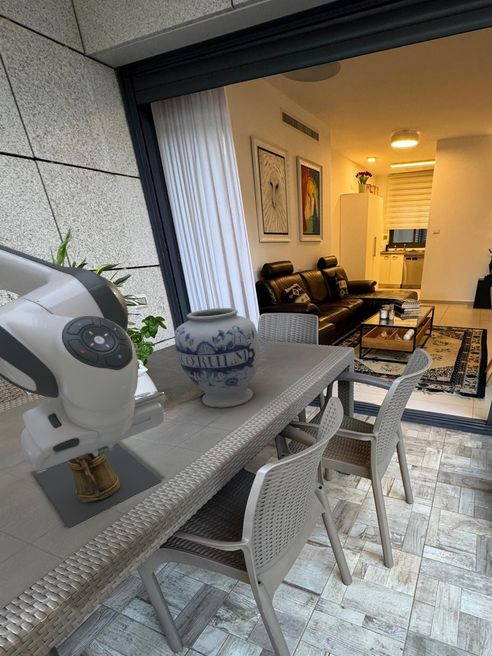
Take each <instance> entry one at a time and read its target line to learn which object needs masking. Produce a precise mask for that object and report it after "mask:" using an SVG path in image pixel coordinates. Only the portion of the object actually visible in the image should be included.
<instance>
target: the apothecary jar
mask: <svg viewBox="0 0 492 656" xmlns="http://www.w3.org/2000/svg"><path fill="white" fill-rule="evenodd" d="M186 317H187V318H188V321H186V322H183V323H182V324H180V325H179V326H178V327H177V328H176V329H175V330H174V345H175V351H176V354H177V358H178V361H179V364H180V366H181V368H182V371H183V372H184V373H185V374H186V376H187V377H188V378H189V379H190V381H191V382H192V383H194V385H195V386H196V387H198V388H199V389H200V390H202V391H203V392H204V393H205V394H203V396H202V399H201V401H202V403H203V404H204V405H205V406H206V407H209V408H217V409H219V408H221V409H222V408H231V407H237V406H240V405H241V406H242V405H243V404H246V403H247V402H249V401H250V400H251V399H252V398H253V395H254V392H253V390H252V389H251V388H248V387H249V385H250V383H251V382H252V380H253V379H254V377H255V375H256V373H257V371H258V368H259V364H260V357H261V355H260V354H261V353H260V351H261V349H260V348H261V347H260V340H259V335H258V331H257V328H256V325H255V323H254V322H253V321H252V320H251V319H249V318H247V317H245V316H241V315H238V309H236V308H232V307H213V308H207V309H202V310H201V309H200V310H195V311H192V312H189V313H188V314H187V315H186Z"/></svg>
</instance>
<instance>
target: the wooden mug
mask: <svg viewBox="0 0 492 656" xmlns="http://www.w3.org/2000/svg"><path fill="white" fill-rule="evenodd" d="M68 463H69V467H70V468H71V470H72V473H73V477H74V481H75V485H76V494H77V497H78V499H79V500H80V501H81V502H85V503H86V502H96V501H99V500H103V499H105V498H107V497H109V496H111V495H113V494H114V493H115V492H117V491H118V489H119V488H120V486H121V484H120V481H119V479H118V477H117V476H116V475H115V473H114V472H113V470H112V469H111V467H110V465H109V464H108V462H107V460H106V456H105V454H104V453H103V454H101V455H99V456H96V457H94V455H93V453H87V454H84V455H81V456H79V457H76V458H73V459H71V460H68Z"/></svg>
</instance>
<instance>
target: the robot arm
mask: <svg viewBox="0 0 492 656" xmlns="http://www.w3.org/2000/svg"><path fill="white" fill-rule="evenodd" d="M0 291H5V292H9V293H12V294H15V295H18V296H20V297H18V298H15V299H13V300H10V301H8V302H6V303H5V304H3V305H1V306H0V378H2V379H3V380H5V381H6V382H8V383H9V384H10V385H12V386H14V387H15V388H18V389H20V390H22V391H24V392H27V393H30V394H33V395H38V396H41V397H46V398H51V399H49V400H47V401H45V402H43V403H41V404H39V405H37V406H35V407H33V408H30V409H28V410H26V411H25V412H23V413H22V415H21V417H22V420H23V423H24V426H25V427H24V428H23V430H22V431H21V434H20V445H21V450H22V453H23V455H24V457H25V459H26V460H27V461H26V462H28V464H29V466H30V467H31V469H32V470H33V471H35V472H43V471H45V470H48V468H50V467H53V466H55V465H58V464H60V463H63V462H66V461H68V460H71V459H73V458H76V457H79V456H81V455H84V454H87V453H93V455H94V457H96V456H99V455H101V454H103V453H106V452H108V451H111V450H112V447H113V446H114V445H115V444H116V443H119V442H120V441H123V440H125V439H128V438H131V437H133V436H136V435H139V434H142V433H143V432H146V431H149V430H151V429H154V428H157V427H159V426H160V425H161V424H163V422H164V421H165V420H164V419H165V409H164V407H163V405H164V404H165V402H166V398H167V397H166V394H165V392H162V391H161V392H158V391H151V392H149V391H148V392H143V393H140V394H136V392H137V389H138V384H139V383H138V382H139V360H138V359H139V358H138V354H137V350H136V348H135V344H134V343H133V341H132V339H131V337H130V335H129V334H128V332H127V330H128V325H129V309H128V304H127V302H126V300H125V296H124V295H123V293H122V292H121V291H120V289H119V288H118V287H117V286H116V285H115V284H114V283H113V282H111V281H110V280H109V279H107V278H106V277H104V276H102V275H101V274H99V273H98V272H97V273H96V272H94V271H92V270H89V269H87V268H83V267H78V266H64V265H60V264H57V263H54V262H50V261H48V260H45V259H42V258H39V257H37V256H34V255H31V254H28V253H26V252H23V251H19V250H17V249H14V248H11V247H9V246H6V245H4V244H0Z"/></svg>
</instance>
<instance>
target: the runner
mask: <svg viewBox="0 0 492 656" xmlns="http://www.w3.org/2000/svg"><path fill="white" fill-rule="evenodd" d="M104 454H105V456H106V460H107V462H108V464H109V465H110V467H111V469H112V470H113V472H114V473H115V475H116V476H117V477H118V479H119V481H120V484H121V486H120V488H119V489H118V491H117V492H115V493H114V494H113V495H111V496H109V497H107V498H105V499H103V500H99V501H96V502H86V503H85V502H81V501H80V500H79V499H78V497H77V494H76V485H75V481H74V477H73V473H72V470H71V468H70V467H69V463H68V462H66V463H63V464H61V465H58V466H55V467H53V468H50V469H45V470H42V471H39V472H38V473H35V474H33V476H34V477H35V479H36V481H37V482H38V484H39V485H40V487H41V488H42V490H43V492H44V494H45V495H46V497H48V500H50V502H51V504H52V505H53V507H54V508H55V511H57V513H58V514H59V517H60V518H61V519H62V520H63V522H64V524H65V525H66V527H67V528H68V529H71V528H72V527H74V526H76V525H78V524H81V523H82V522H84V521H86V520H88V519H90V518H92V517H95V516H96V515H98V514H100V513H102V512H104V511H106V510H108V509H110V508H112V507H114V506H116V505H118V504H120V503H122V502H124V501H126V500H128V499H130V498H132V497H134V496H137V495H138V494H140V493H142V492H144V491H146V490H148V489H150V488H152V487H154V486H156V485H158V484H160V483H162V482H163V480H162V479H161V478H160V477H158V476H157V475H156V474H155V473H154V472H153V471H151V469H149V468H148V467H147V466H146V465H144V464H143V463H142V462H141V461H139V460H138V459H137V458H136V457H135V456H133V455H132V454H131V453H130V452H129V451H127V450H126V449H125V448H124V447H122V445H120V444H119V442H117V443H116V444H115V445H114V446H113V447H112V450H111V451H108V452H106V453H104Z"/></svg>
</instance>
